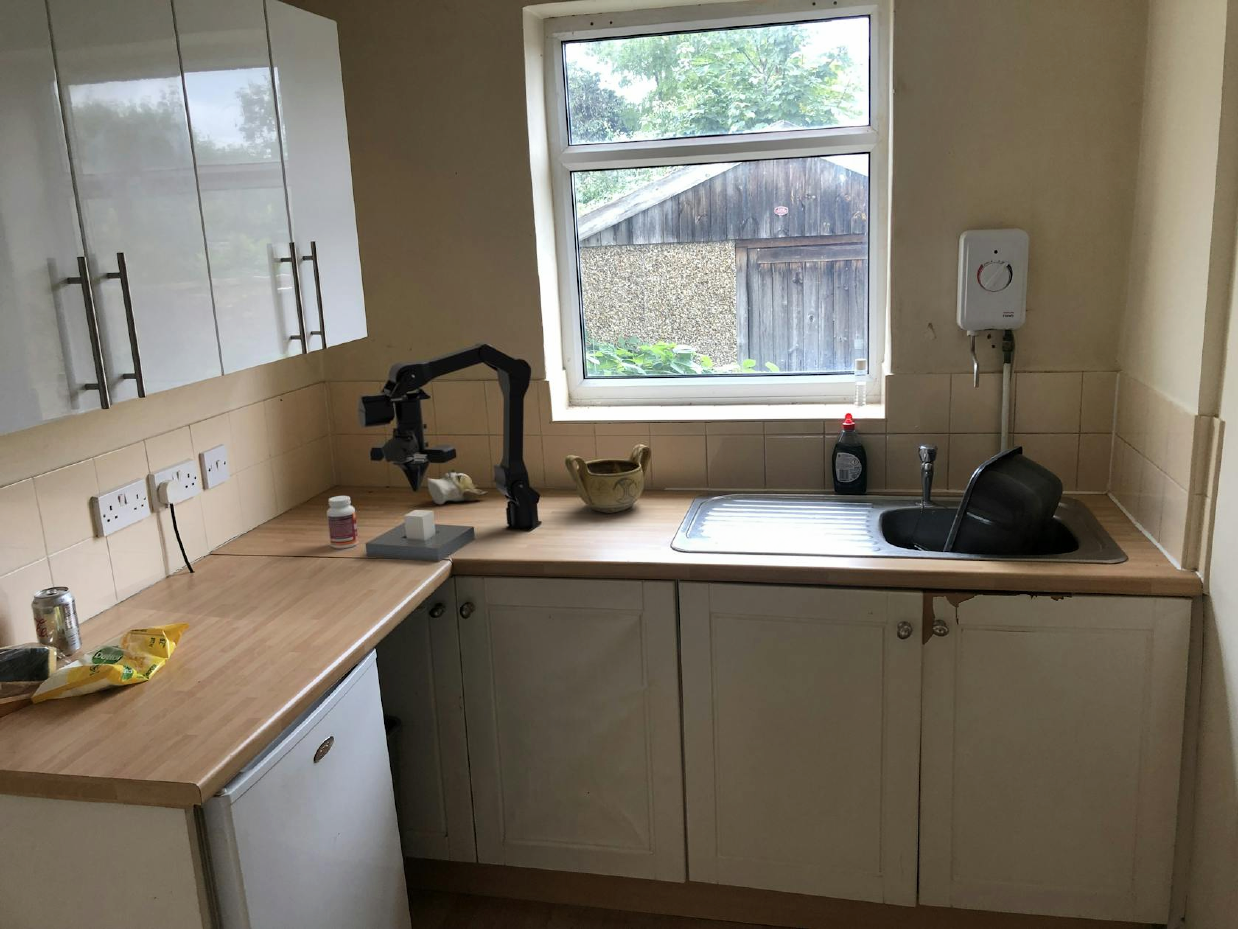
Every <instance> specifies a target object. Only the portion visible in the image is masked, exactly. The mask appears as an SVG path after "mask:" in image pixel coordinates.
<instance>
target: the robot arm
mask: <svg viewBox="0 0 1238 929" xmlns="http://www.w3.org/2000/svg"><path fill="white" fill-rule="evenodd" d="M482 363H483V364H484V365H485V366H487V367H488V368H490V369H491V370H493V371H495V372H496V374H497V381H498V385H499V388H500V391H501V394H502V397H503V408H502V409H503V410H502V412H503V416H502V418H503V421H502V422H503V423H502V426H503V427H502V432H503V433H502V460H501V462H500V464H499V465H498V464H496V465H495V464H494V465H493V469H494V470H493V471H494V478H493V483H494V484H495V487H496V489H497V490H498V491H499V492H500V493H501V494H503V496H504V498H505V499H506V500H508V501H507V502H506V504H507V505H506V508H505V516H506V525H507V526H505V530H511V531H512V530H513V531H527V532H529V531H530V532H531V531H532V530H534V529H537V527H538V526H541V525H542V524H543V523H542V521H541V520H539V513H538V511H539V510H538V504H539V501H540V499H541V493H539V492H538V491H536V490H535V489H534V488H533V487H532V486H531V485H530V479H529V478H530V477H529V472H528V469H527V467H526V463H525V461H524V428H525V427H524V424H525V423H524V419H525V417H524V415H525V414H524V412H525V410H524V407H525V405H524V404H525V396H526V394H527V392H528V390H529V388H530V382H531V377H532V368H531V365H530V364H529V363H528V362H527V361H526V360H524V359H523V358H519V357H513V356H509V355H508V354H506V353H504V352H502V351H500V350H498V349H496V348H494V347H493V346H492V345H491V344H489V343H484V342H478V343H476V344H474V345H472V346H469V347H466V348H465V347H464V348H461V349H459V350H456V351H453V352H449V353H446V354H443V355H439V356H437V357H432V358H430V359H423V360H409V361H402V362H396V363H395V364H393V365H392V366H391V367H390V368H389V371H388V379H387V381H386V382H385V384H384V386H383V388H382V389H381V391H380V393H376V394H361V395H359V402H358V409H357V417H358V421H359V423H360V426H361V428H370V427H379V426H385V425H390V424H391V422H392V421H394V419H395V424H396V425H395V426H396V427H393V428H392V438H390V439H389V440H388V441H386V442H383V443H380V444H377V445H375V446H372V447H371V448H370V450H369V460H370V461H373V462H374V461H377V462H381V461H383V460H384V459H385V462H386V463H390V462H392V464H393V465H394V466H397V467H398V468H400V469H401V470H402V471H403V473H404V475H405V477H406V479H407V481H408V483H409V485H410V487H411V489H412V492H420V490H421V486H422V483H423V481H424V479H425V478H424V477H425V474H426V472H427V469H428V467H429V465H430V464H445V463H448V462H449V461H452V460H454V459H456V458H457V450H456V448H455V447H454V446H453V445H450V444H449V445H448V444H447V445H446V444H438V445H435V446H433V447H431V448H428V447H429V441H426V440H425V439H426V438H425V429H428V425H427V423H424V418H423V410H422V401H423V400H430V399H431V395H430V394H428V393H427V392H425V390H424V389H423V388H422V387H424V386H426V385H428V384H429V383H430V382H431V381H433V380H435V379H436V378H439V377H442V376H445V375H448V374H450V373H454V372H456V371H460V370H463V369H466V368H469V367H473V366H476V365H480V364H482Z"/></svg>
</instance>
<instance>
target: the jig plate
mask: <svg viewBox="0 0 1238 929" xmlns="http://www.w3.org/2000/svg"><path fill="white" fill-rule="evenodd" d="M475 539H476V536H475V526H473V525H472V526H471V525H455V524H441V523H439V524H438V523H435V535H433V536H432V537H430V538H428V539H426V540H419V539H407V538H406V528H405V522H403V523H402V524H399V525H397V526H395V527H394V528H391V529H390V530H388V531H385V532H384V533H382V534H380V535H378V536H376V537H374V538H373V539H371V540H368V541H367V542H365V551H366V557H370V558H371V557H372V558H383V559H395V558H396V559H397V560H410V561H421V562H433V561H434V562H435V561H436V563H440V562H441V561H442V560H444V559H445V558H448V557H449V556H451V555H452V554H454V553H455V552H457V551H459V550H460V549H462V548H463V547H466V545H468V544H469V543H471V542H473V541H475Z"/></svg>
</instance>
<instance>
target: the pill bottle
mask: <svg viewBox="0 0 1238 929" xmlns="http://www.w3.org/2000/svg"><path fill="white" fill-rule="evenodd" d="M328 505H329V507H330V508H328V509H327V511H326V517H327V525H328V533H329V541H330V547H331V548H333V549H340V550H341V549H349V548H352V547H355V546H357V545H358V544H359V535H358V534H359V533H358V526H357V518H356V516H357V515H356V509H355V507H354V506H353V505H351V497H350V496H349V495H338V496H332V497H330V498H328Z"/></svg>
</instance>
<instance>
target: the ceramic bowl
mask: <svg viewBox="0 0 1238 929" xmlns="http://www.w3.org/2000/svg"><path fill="white" fill-rule="evenodd" d="M640 455H641V456H640ZM651 456H652V450H651V448H650V447H649V446H647V445H644V444H641V443H639V444H637V445H635V446H634V447H633V449H632V451H631V453H630V457H629V459H626V458H625V459H624V458H603V459H602V458H601V459H594V460H589V461H585V460H584V459H583V458H581V456H578V455H574V454H573V455H572V454H570V455H566V457H565V460H564V463H565V467H566V469H567V471H568V472H569V475H570V476H571V478H572V480H573V482H574V484H575V488H576V492H577V494H578V496H579V498H580V499H581V500H582V501H583V503H584V504H585V505H587V506H588V507H590V509H591V508H592V509H593V510H595V511H598V512H602V513H608V514H610V513H619V512H622V511H624V510H626V509H628V508H631V507H632V506H634V504H635V503H636V502H637V501H638V500H639V498H640V496H641V494H642V492H643V490H644V484H645V481H644V480H645V476H646V473H647V469H648V466H649V462H650V459H651ZM574 461H575V462H576V463H577V466H576V468H575V466H574Z"/></svg>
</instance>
